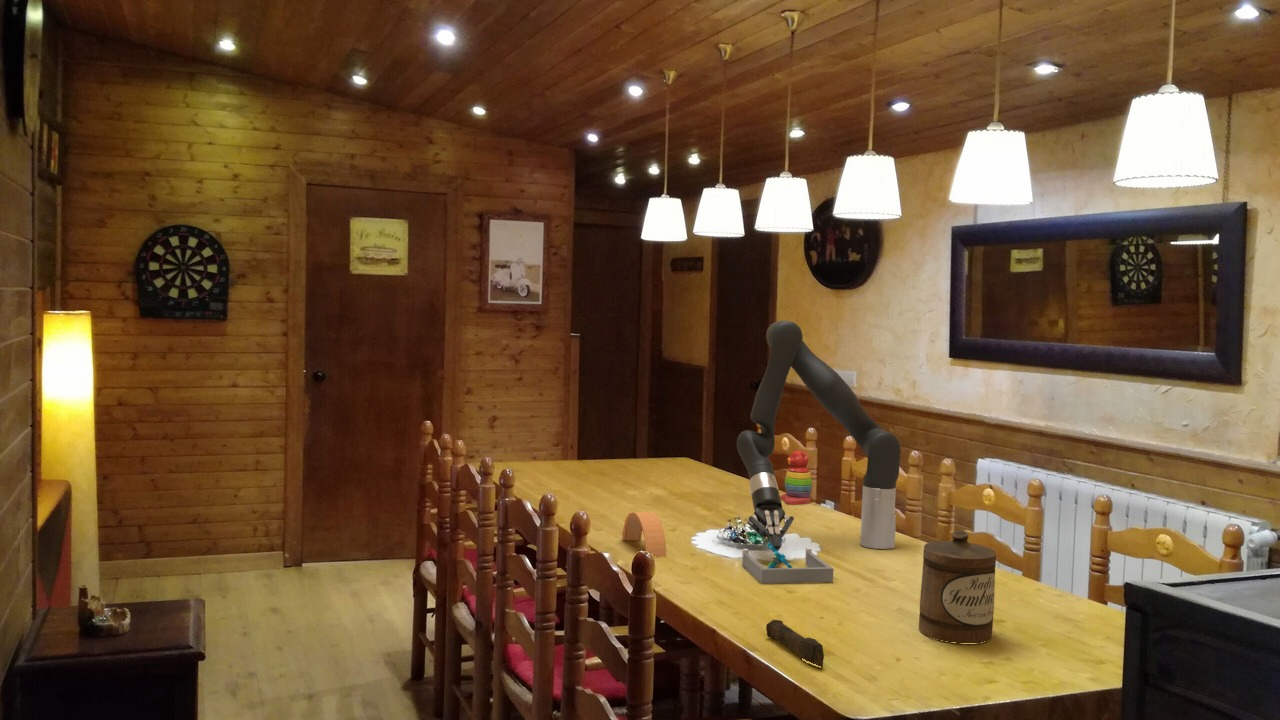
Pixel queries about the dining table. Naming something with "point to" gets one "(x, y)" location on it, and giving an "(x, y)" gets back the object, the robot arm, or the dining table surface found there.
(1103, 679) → the dining table surface
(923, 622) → the wooden container
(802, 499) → the stacking bear
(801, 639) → the dark brown rough bar
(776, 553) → the teal crossed bars
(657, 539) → the arch
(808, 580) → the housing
